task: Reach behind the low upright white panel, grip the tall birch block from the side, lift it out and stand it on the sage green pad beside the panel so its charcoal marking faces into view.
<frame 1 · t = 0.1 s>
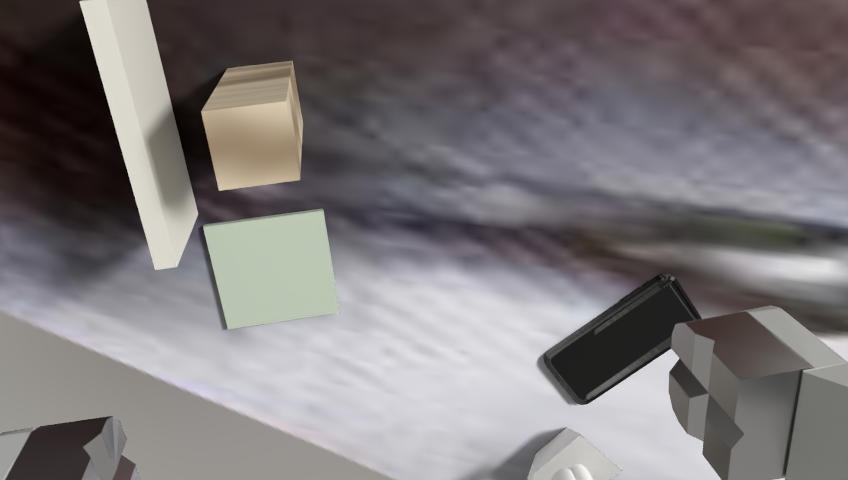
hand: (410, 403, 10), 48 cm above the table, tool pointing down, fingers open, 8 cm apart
marked block: (266, 96, 55), on the table
pad: (274, 269, 61), on the table
phone: (619, 335, 70), on the table
figurine: (563, 449, 75), on the table
upright white panel: (162, 109, 55), on the table
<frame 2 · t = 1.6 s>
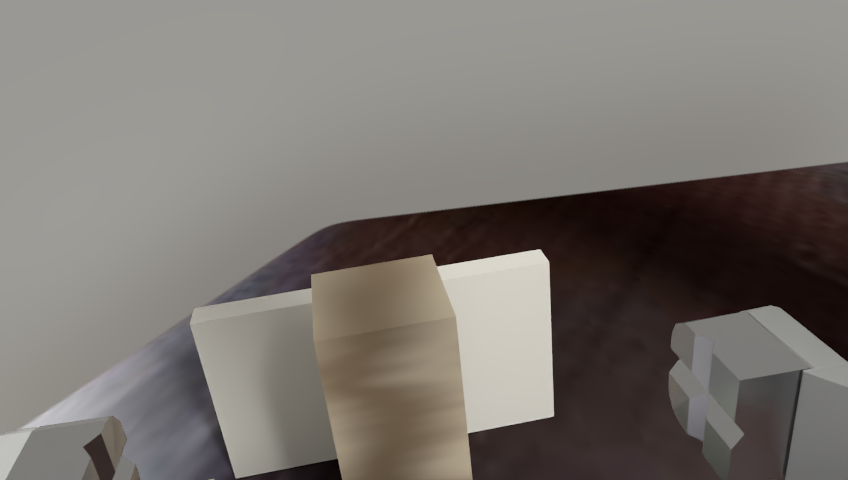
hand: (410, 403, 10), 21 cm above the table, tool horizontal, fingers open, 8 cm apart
upright white panel: (396, 437, 40), on the table
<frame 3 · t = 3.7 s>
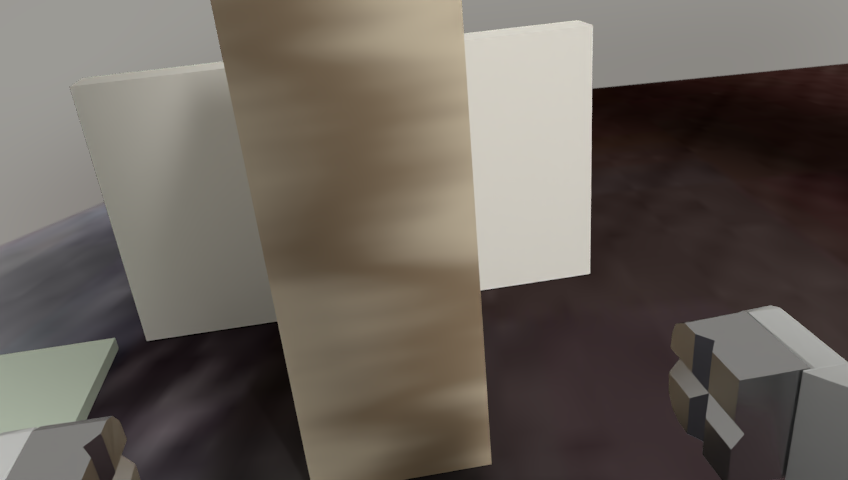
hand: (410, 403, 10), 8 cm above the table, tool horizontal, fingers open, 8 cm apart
marked block: (394, 422, 22), on the table
upright white panel: (373, 297, 29), on the table
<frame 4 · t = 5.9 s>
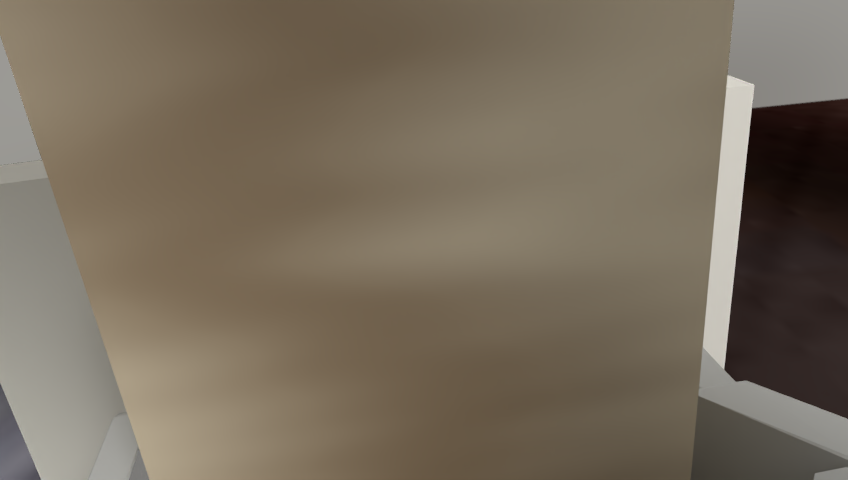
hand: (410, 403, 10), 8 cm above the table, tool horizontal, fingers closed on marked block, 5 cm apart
upright white panel: (405, 468, 20), on the table
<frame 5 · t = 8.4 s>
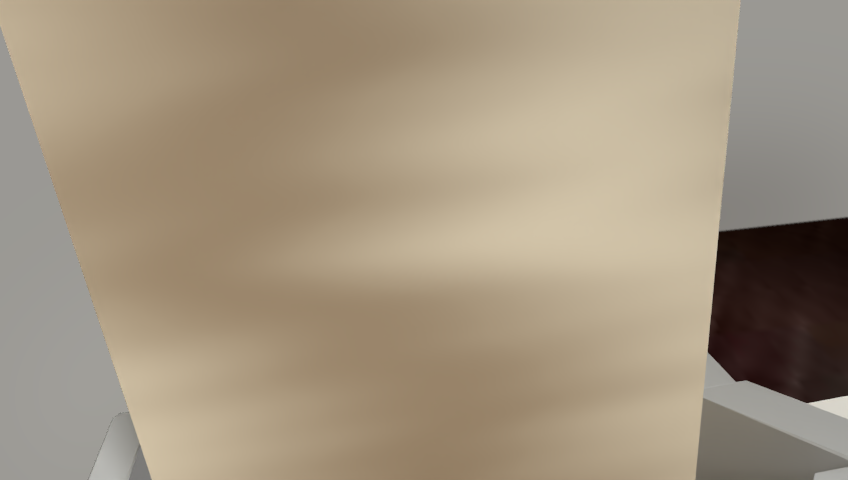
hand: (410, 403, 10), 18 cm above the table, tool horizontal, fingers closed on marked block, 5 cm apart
when the fingers open (10 cm above the table, at t = 10.8 s): marked block drops 1 cm, resting on pad.
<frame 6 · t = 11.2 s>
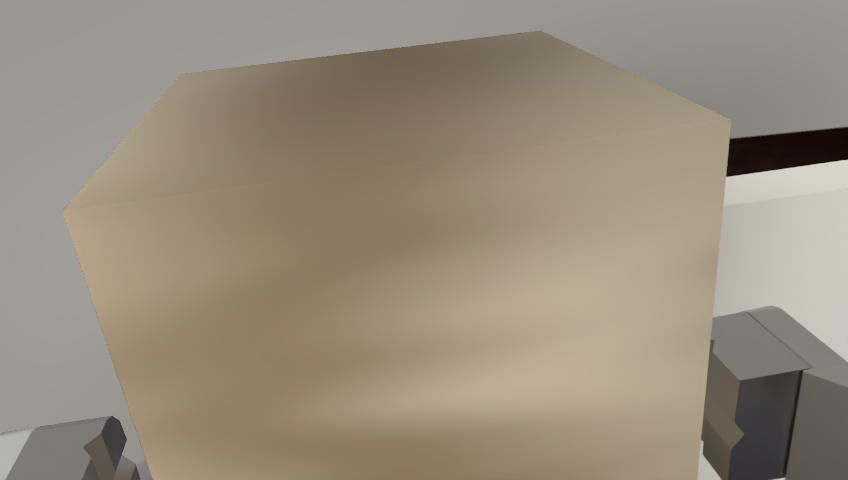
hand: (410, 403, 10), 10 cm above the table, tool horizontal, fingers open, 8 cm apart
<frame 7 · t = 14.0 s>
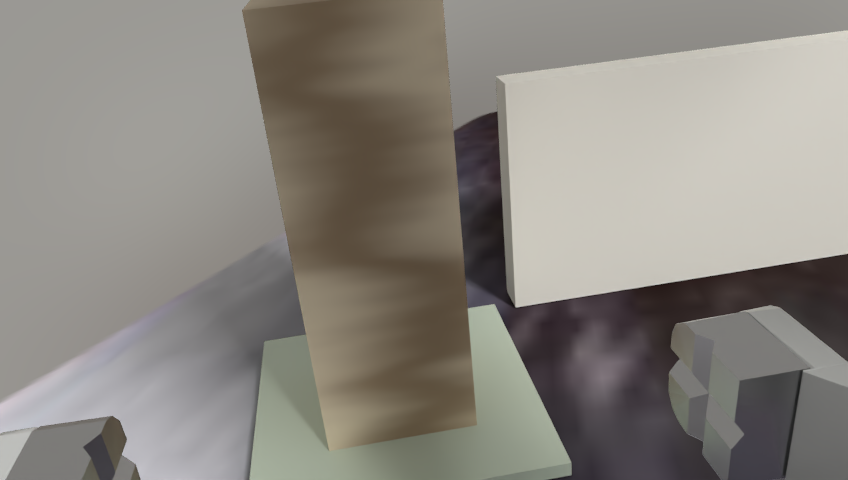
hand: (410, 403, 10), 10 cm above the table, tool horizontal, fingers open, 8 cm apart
marked block: (395, 392, 26), resting on pad
pad: (395, 403, 26), on the table
upright white panel: (698, 269, 33), on the table
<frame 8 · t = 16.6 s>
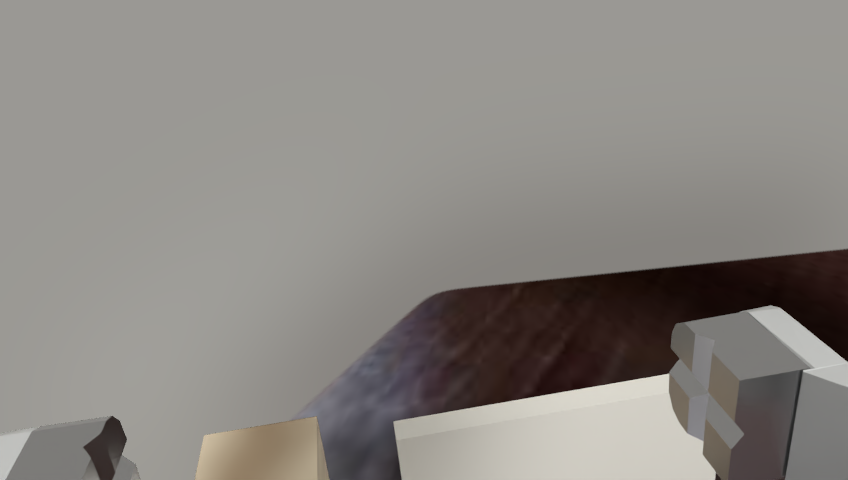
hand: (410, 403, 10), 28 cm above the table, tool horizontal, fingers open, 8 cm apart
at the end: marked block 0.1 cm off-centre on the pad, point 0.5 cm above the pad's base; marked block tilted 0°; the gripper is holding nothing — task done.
